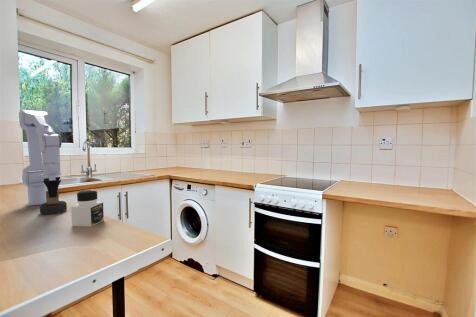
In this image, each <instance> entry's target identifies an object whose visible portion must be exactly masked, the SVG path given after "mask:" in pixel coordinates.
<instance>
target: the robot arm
mask: <svg viewBox="0 0 476 317" xmlns="http://www.w3.org/2000/svg"><path fill="white" fill-rule="evenodd" d="M18 120H19V126H20V129H22V130H24V131H25V133H26V138H27V149H28V150H27V151H28V159H29V164H28V165H27V166H26V167H24V168H23V169H22V175H21V176H22V177H21V178H22V184H23V185H24V186H27V187H26V188H27V203H26V207H31V206H38V205H39V206H40V205H41V204H43V203H46V191H48V193H49V197H50V198H51V197H56V196H57V192H58V193H59V186H60V184H61V182H62V179H61V176H62V172H61V154H60V153H61V152H60V148H61V147H62V145H63V144H62V143H63V141H62V136H61V135H60V133H55V130H54V129H53V127H52V126H51V125H49V121H50V116H49V113H48V111H39V110H27V109H20V110H19V112H18Z"/></svg>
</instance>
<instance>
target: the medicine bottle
mask: <svg viewBox="0 0 476 317" xmlns="http://www.w3.org/2000/svg"><path fill="white" fill-rule="evenodd" d="M76 198H77V204H75V205H72V206H71V207H70V210H71V211H70V213H71V214H70V215H71V226H72V227H80V228H81V227H82V228H83V227H86V228H89V227H90V228H91V227H93V226H95V225H97V224H99V223H101V222H103V221H104V219H105V218H104V202H103V201H98V191H97V190H95V189H84V190H80V191H78V192H77V193H76Z"/></svg>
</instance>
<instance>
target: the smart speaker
mask: <svg viewBox="0 0 476 317" xmlns="http://www.w3.org/2000/svg"><path fill="white" fill-rule="evenodd" d="M66 210H68V206H67V202H66V201H64V200H59V203H58V204H50V205H47V203H43V204H40V205H39V213H40V214H41V215H45V216H46V215H57V214H60V213H63V212H65V211H66Z"/></svg>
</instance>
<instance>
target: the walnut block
mask: <svg viewBox="0 0 476 317" xmlns="http://www.w3.org/2000/svg"><path fill="white" fill-rule="evenodd" d="M59 201H60V196H59V191H58V192H57V196H56V197H51V198H50V197H49V193H48V191H46V203H47V205H50V204H58V203H59Z"/></svg>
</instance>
